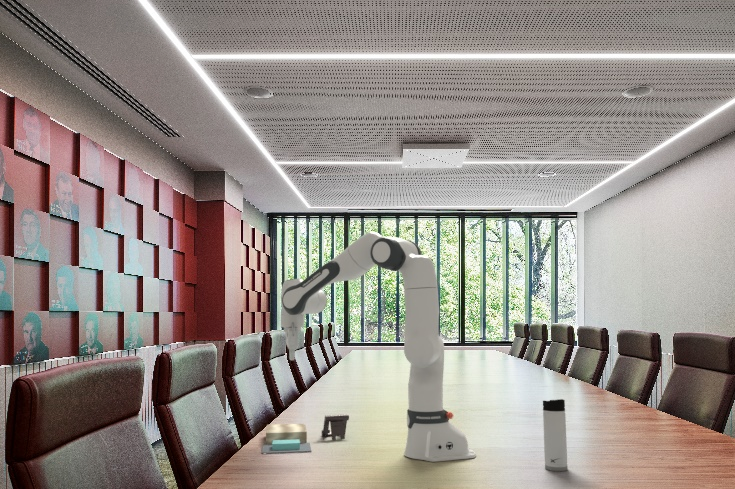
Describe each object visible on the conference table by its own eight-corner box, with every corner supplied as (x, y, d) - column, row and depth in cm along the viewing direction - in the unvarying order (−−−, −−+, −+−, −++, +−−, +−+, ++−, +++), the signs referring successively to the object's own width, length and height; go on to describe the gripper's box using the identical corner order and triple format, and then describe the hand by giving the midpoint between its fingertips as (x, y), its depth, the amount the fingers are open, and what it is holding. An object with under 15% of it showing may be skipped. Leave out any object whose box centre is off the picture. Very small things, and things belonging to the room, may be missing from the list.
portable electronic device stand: (344, 434, 230) (344, 411, 231) (350, 438, 222) (350, 415, 223) (321, 436, 227) (321, 413, 228) (326, 440, 220) (326, 416, 221)
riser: (304, 434, 230) (304, 423, 231) (306, 443, 214) (306, 431, 215) (266, 435, 228) (267, 424, 229) (265, 445, 212) (266, 433, 213)
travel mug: (555, 472, 174) (553, 400, 176) (540, 467, 180) (537, 397, 182) (573, 470, 176) (570, 399, 178) (557, 465, 182) (554, 396, 184)
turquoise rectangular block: (299, 443, 204) (299, 449, 204) (299, 439, 210) (299, 445, 210) (272, 444, 203) (272, 450, 202) (272, 440, 209) (272, 446, 208)
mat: (309, 443, 214) (309, 442, 214) (311, 452, 201) (311, 450, 201) (262, 445, 212) (262, 444, 212) (261, 453, 199) (261, 452, 199)
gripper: (302, 323, 220) (301, 362, 218) (299, 321, 240) (299, 357, 238) (284, 323, 219) (284, 362, 217) (283, 321, 239) (282, 358, 237)
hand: (291, 360), depth 228 cm, fingers closed
